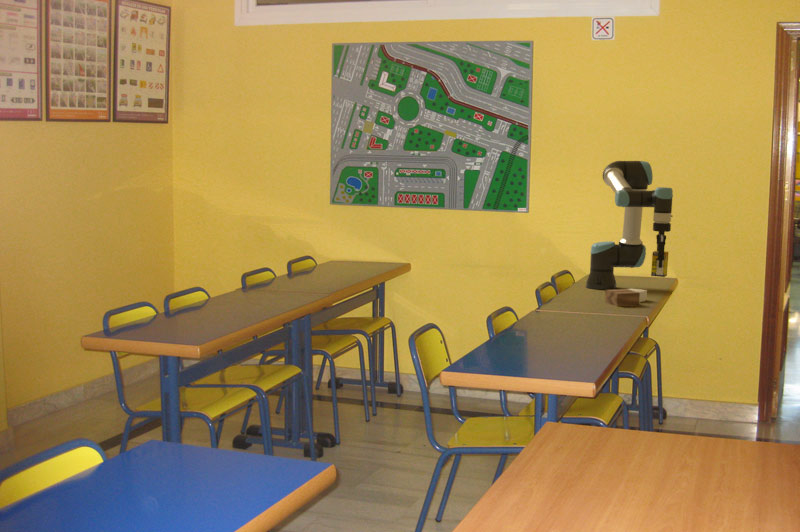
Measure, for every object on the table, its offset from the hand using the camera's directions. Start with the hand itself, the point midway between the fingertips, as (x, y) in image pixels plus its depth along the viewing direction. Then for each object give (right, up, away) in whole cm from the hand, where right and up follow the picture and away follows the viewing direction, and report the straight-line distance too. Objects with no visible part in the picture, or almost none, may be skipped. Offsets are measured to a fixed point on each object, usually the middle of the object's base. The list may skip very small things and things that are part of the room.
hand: (659, 273), depth 387 cm
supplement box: (0, -1, 0) cm, 1 cm away
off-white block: (-7, -13, +16) cm, 22 cm away
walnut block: (-15, -14, +6) cm, 22 cm away
